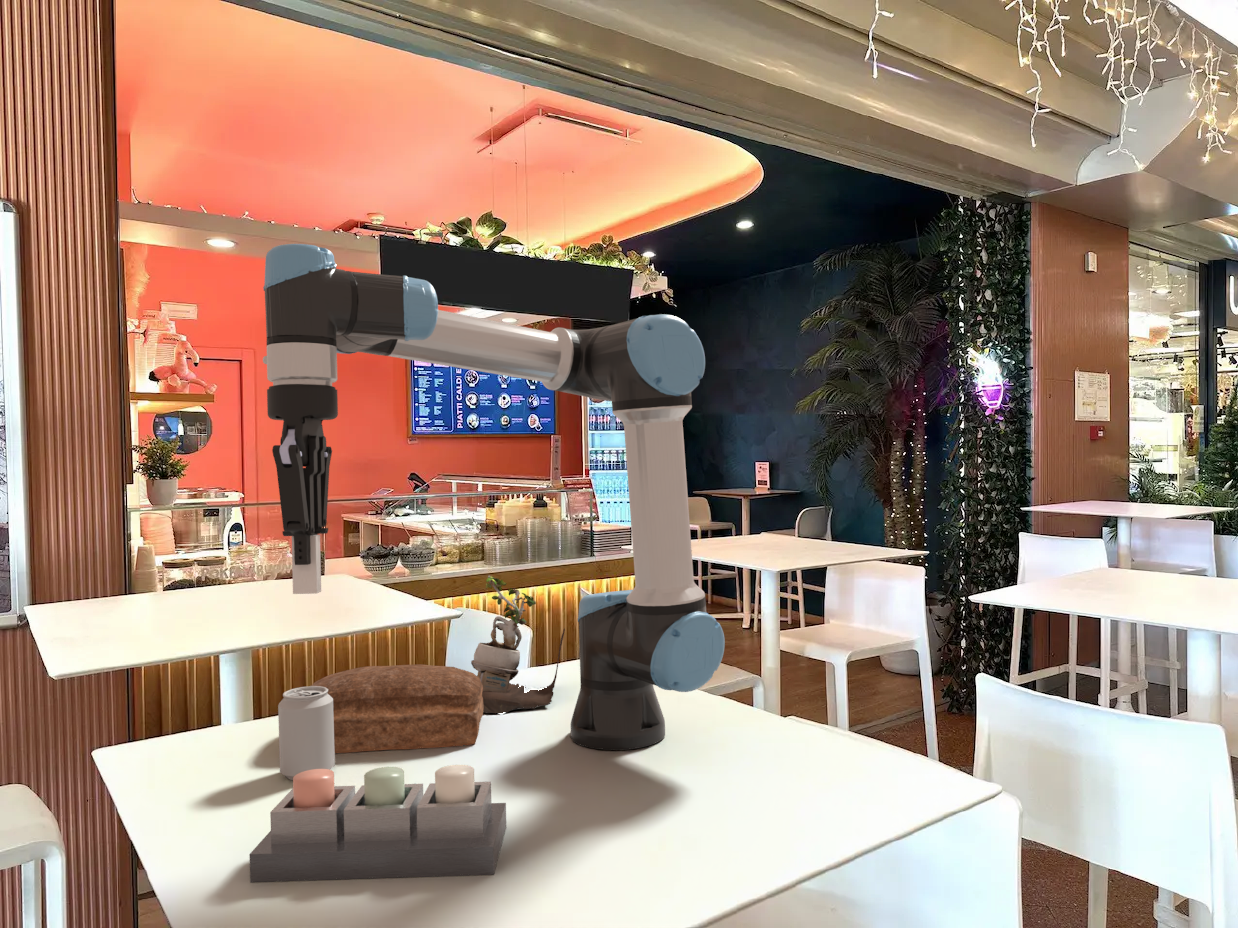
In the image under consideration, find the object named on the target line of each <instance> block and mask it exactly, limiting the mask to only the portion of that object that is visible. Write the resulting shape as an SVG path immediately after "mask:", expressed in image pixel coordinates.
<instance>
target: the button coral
mask: <svg viewBox="0 0 1238 928" xmlns="http://www.w3.org/2000/svg"><path fill="white" fill-rule="evenodd" d="M292 786H293V787H292V789H293V796H294V808H307V807H330V806H331V805H332V804H333V802H334V801H335V794H334V786H335V771H333V770H332V769H330V770H329V769H312V770H307V771H304V772H301V773H298V774H296V775H295V776H294V777H293V780H292Z"/></svg>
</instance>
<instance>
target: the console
mask: <svg viewBox="0 0 1238 928" xmlns="http://www.w3.org/2000/svg"><path fill="white" fill-rule="evenodd" d="M474 783H475V802H471V803H439V804H436V794H435V782H434V783H431V782H430V783H429V784H428V786H427V788H426V790H425V792H424V783H404V787H405V801H404V803H403V804H402V805H373V806H365V790H364V784H363V785H361V786H360V787H359V788H358V790H357V791H356V785H337V786H336V785H334V794H335V801H334V802H333V804H332V805H331V806H330V807H307V808H294V796H293V788H292V789H291V790H290V791H289V792H288V793H287V794H286V795H285V796H284V797H283V798H282V800H280V801H279V803H277V804H276V806H274V808H272V810H271V811H270V813H269V815H270V816H269V817H270V831H269V832H268V833H267V834H266V835H265V837H263V838H262V840H261V841H260V842H259V843H258V844H257V845H256V847H254V848H253V850H251V852H250V853H249V855H248V856H249V882H250V883H264V882H265V883H267V882H271V883H272V882H297V881H299V882H300V881H302V882H303V881H326V880H327V881H328V880H329V881H333V880H359V879H360V880H362V879H363V880H364V879H395V878H396V879H397V878H399V879H400V878H426V877H427V878H428V877H455V876H457V877H458V876H463V877H464V876H487V875H488V876H489V875H495V872H496V868H497V863H498V861H499V858H500V853H501V849H502V846H503V841H504V838H505V834H506V831H507V803H506V802H493V803H492V781H474Z"/></svg>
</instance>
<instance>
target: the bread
mask: <svg viewBox="0 0 1238 928" xmlns="http://www.w3.org/2000/svg"><path fill="white" fill-rule="evenodd" d="M311 686H321V687H326V688H327V689H328V692H327V693H328V694H329V695H330V696H331V697H332V698H333V713H334V749H335V754H339V753H340V754H346V753H356V752H357V753H358V752H359V753H360V752H370V751H371V752H372V751H374V752H375V751H383V750H385V751H386V750H417V749H419V750H420V749H433V748H450V747H464V746H463V745H465V746H471V745H475V744H476V742H477V738H478V737H479V731H480V725H481V724H480V723H481V721H482V718H483V716H484V712H483V709H484V705H483V697H482V692H483V686H482V683H481V680H480V678H479V677H478V676H477V675H476V674H475V673H473V672H472V671H469V670H465V669H461V668H457V667H454V666H447V665H446V666H445V665H429V664H428V665H427V664H401V665H372V666H371V665H370V666H369V665H367V666H363V667H362V666H361V667H356V668H352V669H347V670H343V671H339V672H336V673H332V674H329V675H328V674H327V676H324V677H322V678H320V679H319V680H316V681H315V682H314V683H312V684H311Z"/></svg>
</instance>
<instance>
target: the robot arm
mask: <svg viewBox="0 0 1238 928" xmlns="http://www.w3.org/2000/svg"><path fill="white" fill-rule="evenodd" d="M264 264H265V265H264V285H263V291H264V303H265V305H264V306H265V327H266V328H265V331H266V355H265V356H263V357H262V363H263V364H264V365H266V375H267V377H266V378H267V381H269V382H271V383H272V385H270V386H269V387H268V388H267V389H266V397H267V398H266V400H267V401H266V402H267V403H266V406H267V416H268V418H269V419H271V420H273V421H282V422H283V423H282V429H281V437H280V444H277V445H276V444H275V445H273V446H272V450H271V451H272V456H273V460H274V462H275V467H276V475H277V485H278V492H279V493H278V494H279V501H280V509H281V520H282V528H283V530H282V532H281V533H282V536H283V537H291V560H292V561H291V566H292V569H291V570H292V595H304V594H305V595H306V594H307V595H309V594H310V595H312V594H314V595H315V594H318V593H321V592H322V566H321V565H322V563H321V562H322V561H321V559H322V558H321V535H323V534H326V535H327V534H328V532H329V527H326V526H327V523H328V521H327V518H328V517H327V516H328V503H329V502H328V499H329V485H330V484H329V482H330V481H329V480H330V466H331V460H332V454H333V450H332V447H331V446H327V437H326V436H325V435H324V429H323V428H324V427H323V421H331V420H335V419H336V418H337V417H338V415H339V410H338V409H339V408H338V407H339V406H338V405H339V404H338V401H339V400H338V389H336V387H335V386H333V384H334V383H336V382H337V381H338V355H337V354H343V355H352V354H355V353H363V354H370V355H376V356H385V357H390V358H391V357H392V358H398V359H403V360H411V361H415V362H422V363H427V364H435V365H439V366H446V367H451V368H457V369H465V370H470V371H477V372H483V373H487V374H488V373H489V374H493V375H500V376H505V377H511V378H517V379H518V378H519V379H523V380H529V381H537V382H541V383H542V385H543V386H544V387H545V388H546V389H548V390H550V391H557V392H559V393H560V392H562V393H565V394H566V393H567V394H572V395H577V396H581V397H585V398H590V399H594V400H598V401H599V400H600V401H607V402H611V408H612V410H611V411H612V414H613V416H615V417H616V418H617V419H618V420H619V421H620V422H622V425H623V429H624V444H625V456H626V471H627V487H628V499H629V500H628V501H629V513H630V526H631V529H630V530H631V539H632V554H633V555H632V556H633V570H634V582H635V586H634V588H633V589H628V590H627V589H625V590H617V591H616V590H615V591H607V592H606V591H605V592H599V593H593V594H592V593H591V594H588V595H587V594H586V595H585V596H583V597H582V598H581V599H580V601H579V604H578V614H577V615H578V616H577V623H578V640H579V641H578V643H579V672H580V673H579V674H580V675H579V677H580V678H579V679H580V689H579V693H578V697H577V700H576V703H575V705H574V706H575V707H574V710H573V713H572V717H571V720H570V738H571V740H572V741H573V742H574V743H576V744H577V745H580V746H582V747H585V748H590V749H596V750H603V751H605V750H607V751H622V750H624V751H625V750H634V749H639V748H640V749H641V748H645V747H648V746H652V745H654V744H657V743H659V742H660V741H662V740H663V739H664V738H665V736H666V721H665V717H664V714H663V712H662V711H663V710H662V708H661V706H660V702H659V699H658V696H657V694H656V691H655V687H654V686H657V687H658V688H660V689H662V690H664V691H665V690H666V691H675V692H680V693H688V692H693V691H696V690H699V688H700V689H701V688H702V687H703V686H705V685H706V684H707V683H708V682H709V681H710V680H711V679H713V676H714V674H715V672H716V671H718V669H719V668H720V665H721V664H722V663H721V662H722V660H723V657H724V654H725V653H724V652H725V645H726V644H725V643H726V642H725V641H726V640H725V634H724V630H723V628H722V626H721V624H720V623H719V622H718V621H717V619H716V618H715V617H714V616H713V615H711V614H709V613H708V612H707V604H706V603H707V600H706V593H705V591H704V590H703V589H702V588H701V587H699V586H698V585H697V584H696V582H695V580H694V565H693V564H694V563H693V553H692V551H693V550H692V540H691V539H692V537H691V525H690V524H691V523H690V511H689V510H690V509H689V508H690V507H689V495H688V481H687V480H688V479H687V469H686V467H687V466H686V453H685V452H686V451H685V439H684V427H683V425H684V424H683V423H684V422H683V420H684V418H685V416H687V414H688V413H689V412H690V411H691V410H692V408H693V404H692V401H693V400H692V392H693V391H694V390H695V389H696V388H697V387H698V386H699V385H700V380H701V379H703V378H704V377H703V376H704V374H705V371H706V370H705V369H706V356H705V350H704V346H703V344H702V341H701V340H700V338H699V336H698V335H697V333H696V331H695V330H694V329H692V328H691V327H690V326H689V324H688V323H687V322H686V321H685V320H683V319H681V318H680V317H678V316H676V315H675V316H674V315H672V314H667V313H666V314H665V313H664V314H662V313H659V314H649V315H642V316H639V317H638V318H633V319H629V320H627V321H626V320H625V321H623V322H618V323H615V324H611V325H606V326H602V327H597V328H595V327H594V328H590V329H570V328H565V327H555V328H554V329H552V330H551V331H547V330H541V329H536V328H531V327H526V326H521V325H515V324H511V323H506V322H501V321H496V320H491V319H486V318H481V317H475V316H470V315H466V314H462V313H456V312H451V311H447V310H440V309H439V303H438V302H439V300H438V295H437V292H436V289H435V288H434V286H433V285H432V284H431V282H429V281H428V280H427V279H426V280H425V279H421V278H415V277H410V276H409V277H408V276H407V275H402V276H401V275H392V274H391V275H389V274H379V273H368V272H362V271H361V272H360V271H351V270H345V269H341V268H337V264H336V261H335V256H334V254H333V252H332V251H331V250H329V249H328V248H326V247H319V246H317V245H314V244H307V243H287V244H279V245H276V246H273V247H271V249H270V250H269V251H268V252H267V253H266V255H265V263H264Z"/></svg>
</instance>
